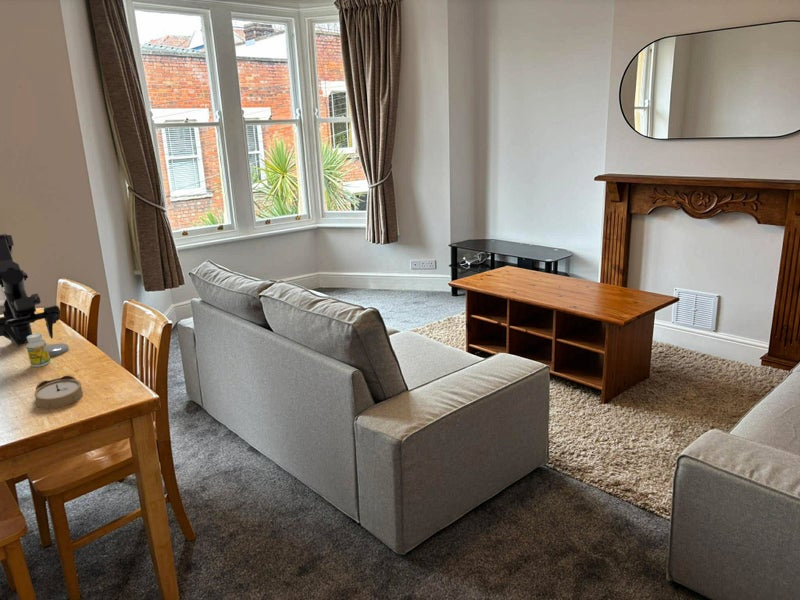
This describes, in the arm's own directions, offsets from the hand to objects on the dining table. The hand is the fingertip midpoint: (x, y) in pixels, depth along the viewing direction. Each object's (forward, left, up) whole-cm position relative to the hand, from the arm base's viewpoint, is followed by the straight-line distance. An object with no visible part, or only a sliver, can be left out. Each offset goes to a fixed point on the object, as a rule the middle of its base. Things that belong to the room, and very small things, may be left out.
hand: (35, 341), depth 189 cm
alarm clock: (+31, -3, -8) cm, 32 cm away
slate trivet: (-10, +5, -8) cm, 13 cm away
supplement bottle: (-1, 0, -8) cm, 8 cm away
